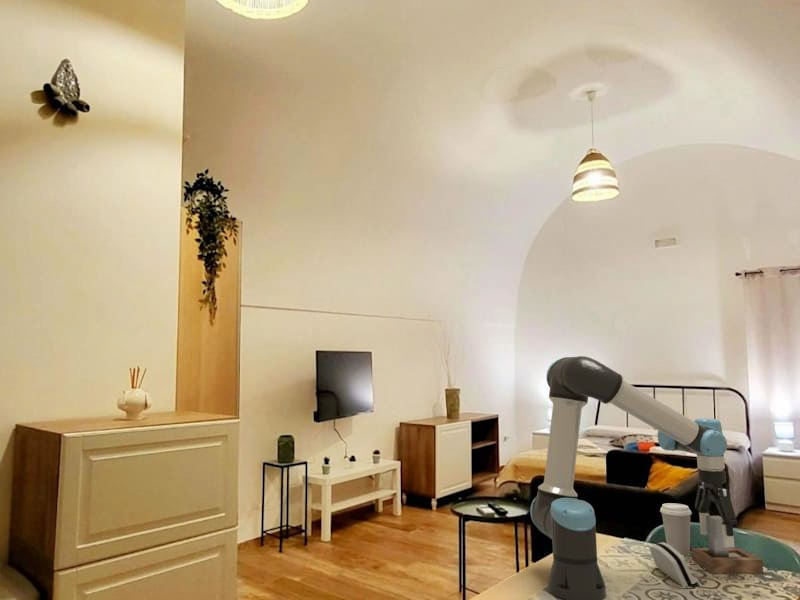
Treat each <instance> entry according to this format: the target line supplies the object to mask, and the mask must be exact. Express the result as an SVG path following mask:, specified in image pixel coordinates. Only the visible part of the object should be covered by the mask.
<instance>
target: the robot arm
mask: <svg viewBox="0 0 800 600" xmlns="http://www.w3.org/2000/svg"><path fill="white" fill-rule="evenodd" d="M546 371H547V372H546V383H547V385H548V388H549V393H548V399H549V400H550V401H551V403H552V411H551V420H550V427H549V436H548V444H547V445H548V447H547V453H546V460H545V461H546V463H545V470H544V471H545V472H544V479H543V482H542V483H541V484H540V485H538V486H537V494H536V496H535V498H534V499H533V500H532V502H531V505H530V510H529V512H530V517H531V520H532V523H533V524H534V525H535V527H536V528H537V529H538V531H539V532H540V533H542V534H544V535H545V536H547V537H548V538H549V539H551V542H552V543H551V544H552V556H553V557H552V559H553V560H552V564H551V568H550V571H549V573H548V578H547V590H548V592H549V593H550V594H551V595H552V596H555V597H557V598H559V599H563V600H603V599H604V598H606V596H607V589H606V584H605V580H604V578H603V575H602V572H601V569H600V566H599V564H598V552H597V551H598V548H597V547H598V546H597V530H596V529H597V527H596V525H597V524H596V522H597V521H596V519H597V518H596V515H595V509H594V508H593V506H592V505H591V504H590V503H589V502H587V501H585V500H583V499H578V493H577V492H576V491H575V489H574V483H575V482H574V481H575V473H576V465H577V464H576V463H577V454H578V445H579V439H580V438H579V436H580V429H581V428H580V426H581V419H582V409H583V408H584V407H585V406H586V405H588V403H589V398H593V399H595V400H597V401H599V402H601V403H602V404H605V405H607V404H612V405H613V406H614V407H617V408H618V409H620V410H622V411H624V412H626V413H627V414H629V415H631V416H632V417H633V418H636V419H638V420H639V421H641V422H643V423H644V424H646V425H648V426H650V427H652V428H654V429H655V430H656V431H657V441H658V444H659V446H660V448H661V449H662V450H664V451H671V452H674V451H675V452H676V451H677V452H678V451H681V452H685V453H690V454H696V461H697V462H696V463H697V465H696V466H697V468H698V470H697V475H698V476H697V477H698V482H697V493H696V498H695V503H694V509H696V510H697V512H698V516H699V526H700V527H699V528H700V535H702V536H707V526H706V516H710V511H709V508H710V506H711V505H712V504H711V503H713V504H715V506H716V508H717V511H718V512H719V516H720V517H721V518H722V520H723V522H722V530H723V542H724V547H728V548H735V537H734V536H735V535H734V525H736V524H738V520H737V517H736V514H735V510H734V507H733V504H732V503H733V502H732V500H731V497H730V490H729V489H727V488H723V486H722V485H723V484H725V483H727V476H726V471H725V469H726V467H725V462H726V459H725V457H724V456H725V453H726V451H727V448H728V441H727V438H726V436H725V435H724V433H723V428H722V423H721V421H720V420H718V419H715V418H695V419H694V420H693V419H690V418H688V416H686V415H684V414H682V413H680V412H679V411H677V410H676V409H674V408H672V407H670V406H669V405H667V404H665V403H663V402H661V401H660V400H658V399H656V398H654V397H652V396H651V395H649V394H648V393H646V392H645V391H642V390H641V389H639V388H637V387H636V386H634V385H632V384H630V383H629V382H627V381H625V380H624V377H623V375H622V374H620V373H618V372H617V371H614V370H613V369H612V368H610V367H608V366H606V365H605V364H603V363H601V362H600V361H598V360H596V359H594V358H592V357H589V356H582V355H579V356H566V357H562V358H559V359H556V360H555V361H553V362H552V363H551V365H549V366H548V369H547V370H546Z"/></svg>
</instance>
